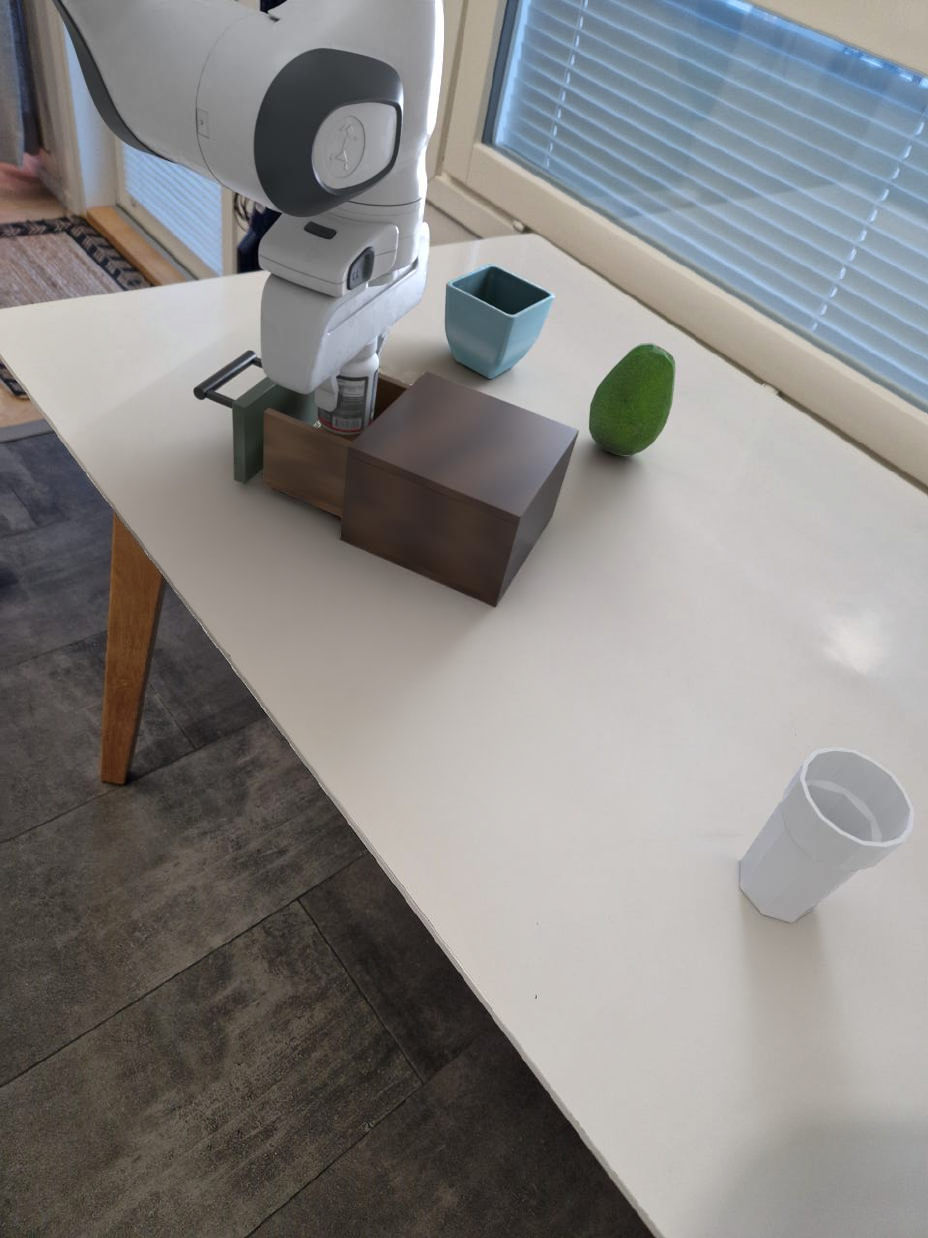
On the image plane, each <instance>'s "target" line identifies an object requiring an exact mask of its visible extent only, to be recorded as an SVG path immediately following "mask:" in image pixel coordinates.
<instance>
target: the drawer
mask: <svg viewBox="0 0 928 1238" xmlns="http://www.w3.org/2000/svg"><path fill="white" fill-rule="evenodd" d="M251 366H254V367H258V368H260V369H262V370H263V368H262V362H261V357H258V356H257V354H256V352H254V350H250V349H248V350H246V351H245V352H244V353H242V354H241V355H239V356H238V357H237V358H235V359H233V360H232V361H231V362H229V363H228V364H226V365H225V366H223V367H222V368H220V369H219V370H218V371H216V372H215V373H213V374H212V375H210V376H209V377H208V378H206V379H205V380H203V381H202V382H201V383H199V384H198V385H196V386H195V387H194V388H193V391H192V392H193V395H194V397H195V398H196V399H197V400H199V401H204V400H205V399H208V400H209V401H212V402H214V403H216V404H220V405H222V406H224V407H227V408H228V409H231V414H232V415H231V416H232V417H231V418H232V420H231V421H232V454H233V459H232V460H233V480H234V481H236V482H238V483H240V484H243V485H247V484H248V483H249V482H250V481H251V480H252V479H254V478H255V477H256V476H257V475H258V474H260V473H261V472H262V475H263V477H262V478H263V480H262V484H263V485H266V486H267V487H270V488H272V489H274V490H277V491H279V492H281V493H283V494H286V495H288V496H291V497H292V498H295V499H298V500H300V501H302V502H304V503H307V504H308V505H309V504H310V505H312V506H314V507H317V508H319V509H321V510H323V511H326V512H328V513H330V514H333V515H335V516H336V517H340V518H342V509H343V497H344V486H345V475H346V463H347V453H348V446H349V445H350V444H351V443H352V442H353V441H354V440H355V439H356V438H357V437H358V436H359V435H360V434H358V435H352V436H345V435H338V434H335V433H332V432H330V431H328V430H327V429H325V428H324V427H323V426H322V425H321V424H320V425H319V427H317V426H315V424H316V423H317V422H319V420H318V406H317V405H316V404H315V389H314V390H313V391H312V392H311V393H309V394H301V393H298V392H295V391H293V390H290V389H288V388H285V387H283V386H281V385H278V384H276V383H274V382H272V381H271V380H270V379H269V378H268V377H267V376H265V377H264V378H263V379H262V380H260V381H259V382H258V383H256V384H255V385H254V386H252V387H251V388H249V389H248V390H247V391H246V392H244V393H243V394H242V395H240V396H239V397H238V398H236V399H233V398H231V397H229V396H227V395H225V394H222V393H219V392H217V391H218V390H220V389H221V388H222V387H223V386H225V385H226V384H228V383H229V382H230V381H232V380H233V379H235V378H236V377H237V376H239V375H241V374H242V373H243V372H244V371H246V370H247V369H248V368H250V367H251ZM411 385H412V384H409V383H407V382H404V381H403V380H402V381H401V380H400V379H398V378H397V379H396V378H395V377H392V376H389V375H387V374H384V373H383V372H380V371H378V379H377V388H376V397H375V406H374V415H373V422H374V421H375V420H376V419H377V418H378V417H379V416H380V415H381V414H382V413H383V412H384V411H385V410H386V409H387V408H388V407H389V406H390V405H391V404H392V403H393V402H394V401H395V400H396V399H398V398H399V397H400V396H401V395H402V394H403V393H404V392H405V391H406V390H407V389H408V388H409V387H410V386H411Z"/></svg>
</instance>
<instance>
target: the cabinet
mask: <svg viewBox="0 0 928 1238" xmlns="http://www.w3.org/2000/svg"><path fill="white" fill-rule="evenodd" d="M410 385H411V386H410V387H409V388H408V389H407V390H406V391H405V392H404V393H403V394H402V395H401V396H400V397H399V398H398V399H396V400H395V401H394V402H393V403H392V404H391V405H390V406H389V407H388V408H387V409H386V410H385V411H384V412H383V413H382V414H381V415H380V416H379V417H378V418H377V419H376V420H375V421H374V422H373V423H372V424H371V425H369V426H368V427H367V428H366V429H365V430H364V431H363V432H362V433H361V434H360V435H359V436H358V437H357V438H356V439H355V440H354V441H353V442H352V443H351V444H350V445H349V446H348V453H347V463H346V475H345V486H344V497H343V509H342V517H341V519H340V520H341V522H340V533H339V540H340V541H343V542H344V543H347V544H349V545H352V546H354V547H357V548H359V549H361V550H363V551H366V552H368V553H370V554H372V555H375V556H377V557H379V558H381V559H383V560H386V561H388V562H391V563H393V564H395V565H398V566H400V567H402V568H404V569H407V570H409V571H411V572H414V573H416V574H418V575H421V576H423V577H424V578H428V579H430V580H432V581H434V582H436V583H439V584H441V585H443V586H446V587H447V588H451V589H453V590H455V591H457V592H460V593H462V594H464V595H466V596H468V597H471V598H473V599H476V600H478V601H480V602H482V603H484V604H487V605H490V606H492V607H494V608H496V607H497V606H498V605H499V603H500V602H501V600H502V598H503V597H504V595H505V594H506V592H507V590H508V588H509V587H510V586H511V584H512V582H513V581H514V579H515V577H516V576H517V574H518V573H519V571H520V569H521V568H522V566H523V564H524V563H525V561H526V560H527V558H528V556H529V555H530V553H531V552H532V550H533V548H534V547H535V545H536V544H537V542H538V541H539V539H540V537H542V534H543V533H544V531H545V529H546V528H547V526H548V525H549V523H550V521H551V520H552V518H553V516H554V513H555V510H556V506H557V503H558V500H559V496H560V494H561V490H562V487H563V484H564V481H565V477H566V474H567V471H568V468H569V465H570V462H571V458H572V455H573V452H574V449H575V445H576V442H577V440H578V439H577V438H578V436H579V433H580V430H579V429H577V428H575V427H572V426H570V425H567V424H564V423H562V422H559V421H557V420H555V419H551V418H549V417H547V416H544V415H542V414H539V413H536V412H534V411H531V410H528V409H526V408H523V407H521V406H518V405H516V404H513V403H510V402H507V401H506V400H502V399H501V398H497V397H495V396H492V395H490V394H487V393H485V392H482V391H480V390H477V389H476V388H475V389H474V388H472V387H470V386H467V385H464V384H462V383H459V382H456V381H454V380H452V379H449V378H446V377H443V376H441V375H439V374H436V373H433V372H432V371H431V372H430V371H429V370H425V371H424V372H423V373H422V374H421V375H420V376H419V377H418V378H417V379H416V380H415V381H414V382H413V383H412V384H410Z"/></svg>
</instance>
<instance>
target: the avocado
mask: <svg viewBox="0 0 928 1238" xmlns="http://www.w3.org/2000/svg"><path fill="white" fill-rule="evenodd" d="M675 379H676V360H675V357H674V356H673V355H672V354H671V353H669V352H668V351H667V350H665V349H664V348H663V347H661V346H658V344H655V343H654V342H648V343H645V342H644V343H640V344H638V345H636V346H635V347H633V348H631V349H630V350H629V352H627V353H626V354H625V355H624V356H623V357H622V358H621V359H620V360H619V361H618V362H617V363H616V364H615V365H614V366H613V367H612V368H611V370H610V371H609V372H608V373H607V374H606V376H605V377H604V378H603V379H602V381H600V383H599V385H598V386H597V387H596V390H595V392H594V395H593V397H592V399H591V402H590V404H589V417H588V430H589V434H590V436H591V438H592V440H593V441H594V442H595V443H596V444H597V445H598V446H599V447H600V448H601V449H603V451H605V452H608V453H610V454H613V455H616V456H626V457H627V456H629V457H630V456H631V457H632V456H634V455H636V454H639V453H641V452H643V451H644V450H646V449H647V448H649V447H650V446H651V445H652V444H653V443H655V442H656V440H657V439H658V437H659V436H660V434H661V433H662V432H663V430H664V429H665V427H666V424H667V422H668V418H669V415H670V412H671V410H672V406H673V401H674V391H675V382H676V381H675Z"/></svg>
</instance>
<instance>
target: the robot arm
mask: <svg viewBox="0 0 928 1238" xmlns="http://www.w3.org/2000/svg"><path fill="white" fill-rule="evenodd" d="M51 1H52V4H53V5H54V7H55V9H56V10H57V13H58V15H59V16H60V18H61V20H62V22H63V24H64V25H65V26H64V27H65V28H66V31H67V33H68V36H69V38H70V40H71V43H72V46H73V49H74V52H75V55H76V58H77V61H78V64H79V67H80V71H81V73H82V76H83V80H84V82H85V85H86V88H87V90H88V93H89V96H90V98H91V100H92V102H93V105H94V107H95V109H96V110H97V112H98V114H99V116H100V118H101V119H102V121H103V122H104V123H105V124H106V126H107V127H108V129H109V130H110V131H111V132H112V133H113V134H114V135H115V136H116V137H117V138H118V139H119V140H120V141H122V142H123V143H124V144H126V145H128V146H129V147H131V148H133V149H135V150H136V151H140V152H142V153H145V154H148V155H150V156H153V157H155V158H158V159H160V160H163V161H166V162H169V163H171V164H172V163H173V164H177V165H178V166H181V167H183V168H185V169H187V170H189V171H191V172H193V173H195V174H197V175H199V176H201V177H203V178H205V179H207V180H209V181H211V182H212V183H215V184H217V185H219V186H221V187H224V188H225V189H227V190H229V191H231V192H233V193H234V192H235V193H237V194H239V195H241V196H242V197H245V198H247V199H249V200H251V201H253V202H255V203H257V204H259V205H262V206H263V207H265V208H268V209H270V210H272V211H275V212H278V213H281V214H280V216H279V217H278V219H277V220H276V221H275V222H274V223H273V224H272V225H271V226H270V228H269V229H268V230H267V232H266V233H264V235H263V236H262V238H261V239H260V242H259V245H258V251H257V253H258V254H257V255H258V265H259V267H260V268H261V269H262V270H264V271H265V272H268V273H270V274H269V275H268V277H267V278H266V281H265V283H264V285H263V289H262V293H261V301H260V319H259V320H260V321H259V322H260V323H259V325H260V327H259V329H260V330H259V331H260V332H259V335H260V338H259V339H260V341H259V342H260V358H261V362H262V368H263V369H262V368H261V369H262V372H264V374H265V375H266V377H268V378H269V379H270V380H271V381H272V382H274V383H276V384H278V385H281V386H283V387H285V388H288V389H290V390H293V391H295V392H298V393H301V394H309V393H311V392H312V391H313V390H314V389H315V404H316V405H317V406H318V407H319V408H322V409H324V410H327V411H329V412H331V411H333V410H334V409H335V408H336V407H337V406H338V405H340V404H341V403H342V401H343V398H342V396H343V390H344V386H341V385H339V384H337V380H336V376H338V375H339V374H340V368H341V367H342V366H343V365H345V364H346V363H347V362H348V361H349V360H351V359H352V358H353V357H354V356H356V355H357V354H358V353H359V352H360V351H362V350H363V348H364V346H365V344H366V343H368V342H369V341H370V340H371V339H373V338H374V337H375V336H376V335H377V350H376V352H375V353H376V354H377V356H378V359H379V360H380V356H381V354H382V352H383V349H384V347H385V345H386V342H387V339H388V337H389V334H390V328H391V327H392V326H393V325H394V324H396V323H397V322H398V321H400V320H401V319H402V318H403V317H404V316H406V315H407V314H408V313H409V312H410V311H411V310H413V309H414V308H415V307H416V306H418V305H419V304H420V303H421V301H422V298H423V296H424V293H425V290H426V286H427V279H428V268H429V257H430V238H431V237H430V228H429V227H430V226H429V225H428V223H427V222H426V221H425V220H424V214H425V207H426V200H427V191H428V175H427V170H426V169H427V168H426V154H427V149H428V146H429V142H430V139H431V137H432V134H433V133H434V130H435V127H436V124H437V116H438V109H439V102H440V93H441V85H442V73H443V60H444V46H445V45H444V44H445V43H444V42H445V41H444V40H445V15H444V13H445V11H444V0H286V1H284V2H283V3H281V4H280V5H278V6H275V7H274V8H271V9H269V10H267V13H266V12H263V11H261V10H259V9H257V8H254V7H252V6H249V5H246V4H244V3H241V2H239V1H237V0H51Z"/></svg>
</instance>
